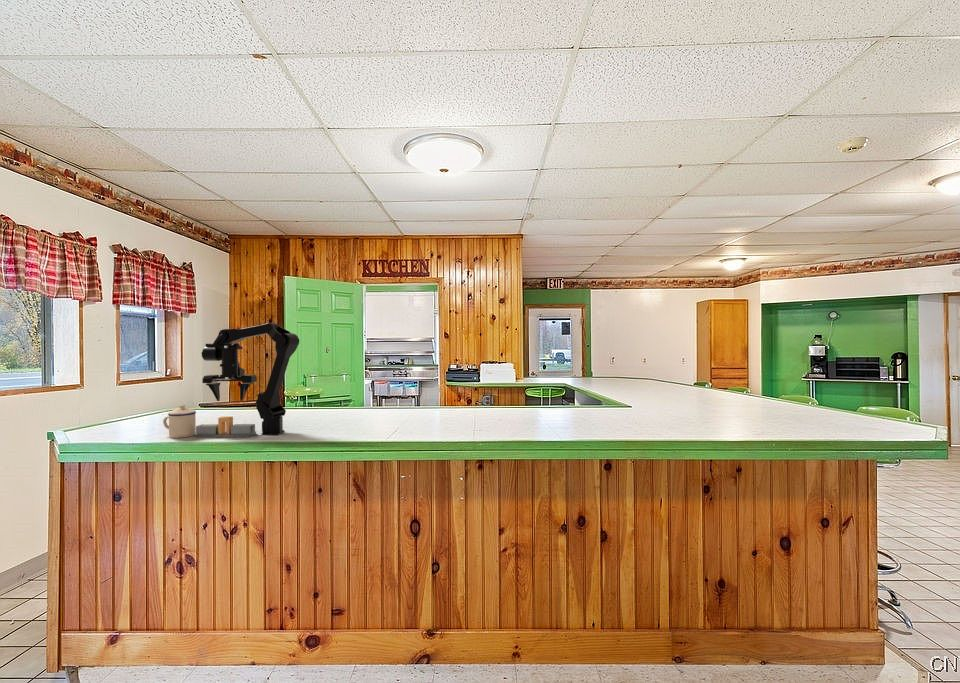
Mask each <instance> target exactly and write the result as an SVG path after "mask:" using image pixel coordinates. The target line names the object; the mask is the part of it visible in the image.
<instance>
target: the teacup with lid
mask: <svg viewBox="0 0 960 683" xmlns="http://www.w3.org/2000/svg"><path fill="white" fill-rule="evenodd" d="M196 414H197V411H196V410H195V409H192V408H190V407H188V406H186V404H179V405H178V407H177V408H175V409H173V410H171V411H169V412H168V413H167V415H168V416H165V417H164V418H163V420H162V423H163V426H164V428H165V429H166V430H168V437H170V438H171V437H172V439H179V438H180V439H181V438H182V437H184V438H190V437H193V436H195V435H196V426H197V425H196V424H197V423H196V420H197V419H196Z"/></svg>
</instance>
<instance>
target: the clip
mask: <svg viewBox="0 0 960 683" xmlns="http://www.w3.org/2000/svg"><path fill="white" fill-rule="evenodd" d="M217 419H218V420H217V423H218V434H223V433H225V432H226V434H230V433H231V426H232V425H234V417H233V416H220V417H217Z"/></svg>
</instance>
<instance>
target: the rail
mask: <svg viewBox="0 0 960 683" xmlns="http://www.w3.org/2000/svg"><path fill="white" fill-rule="evenodd" d="M255 435H257V431H256V424H255V423H235V424H233V425H232V426H231V433H230V434H226V432H225V433H223V434H218V424H217V423H215V424H212V423H210V424H209V423H208V424H206V423H204V424H202V423H201V424H198V425H196V434H195V435H194V438H195V437H216V439H217V438H220V439H221V438H251V437H253V436H255Z"/></svg>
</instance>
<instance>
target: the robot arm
mask: <svg viewBox="0 0 960 683" xmlns="http://www.w3.org/2000/svg"><path fill="white" fill-rule="evenodd" d="M265 335H268V336H269V337H270V339H271V340H272V341H273V342H275V344H274V345H275V347H274V348H275V353H276V354H275V355H276V356H275V359H274V362H273V366H272V368H271V369H272V370H271V371H270V376H269V379H268V382H267V386H266V388H265V390H264V391H263V392H258V394H257V399H256V401H255V404H256V405H255V407H256V408H255V409H256V410H257V412H258V414H259V417H260V419H261V420H262V421H261V435H263V436H264V435H265V436H266V435H274V436H275V435H280V434H282V433H284V432H285V430H284V428H283V427H284V424H283V417H285V415H286V412H287V410H286V409H285V408H284V406H283V405H282V404H281V395H280V394H281V393H280V391H281V387H282V384H283V380H284V379H285V375H286V371H287V368H288V364H289V361H290V358H291V357H292V356H293V354H294V353H295V352H296V351H297V349H298V346H299V344H300V338H299V336H298V335H297V334H295V333H293V332H290V331H289V330H287V329H285V328H284V327H281V326H280V325H279V324H277V323H275V322H266V323H263V324H260V325H255V326H249V327H244V328H243V327H242V328H222V329H220V330H219V332H218V335H217V337H216V338H215V340H214V341H213V343H205V347H203V349H202V352H201V358H202V360H204V361H205V362H206V361H208V362H209V361H210V362H221V363H220V364H219V367H221V374H209V375H208V374H206V375H204V376H202V382H201V383H202V384H205V386H208V387H209V388H208V389H210V391H211V392H212V394H213V395H214V397H215V399H216V401H217V402H219V401H220V399H221V395H220V393H221V392H220V391H221V390H220V386H221V382H241V383H239V390H240V391H239V392H240V394H239V396H240V402H243V401H244V400H245V397H246V394H247V392H248V390H249V387H251V385H253V384H254V383H257V382H258V377H257V375H256V374H245V373H246V370H245V369H244V368H242V367H241V365H240V363H239V351H238V350H243V346H241V345H240V344H239V343H240V342H242V341H244V340H246V339H248V338H254V337H259V336H265Z"/></svg>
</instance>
